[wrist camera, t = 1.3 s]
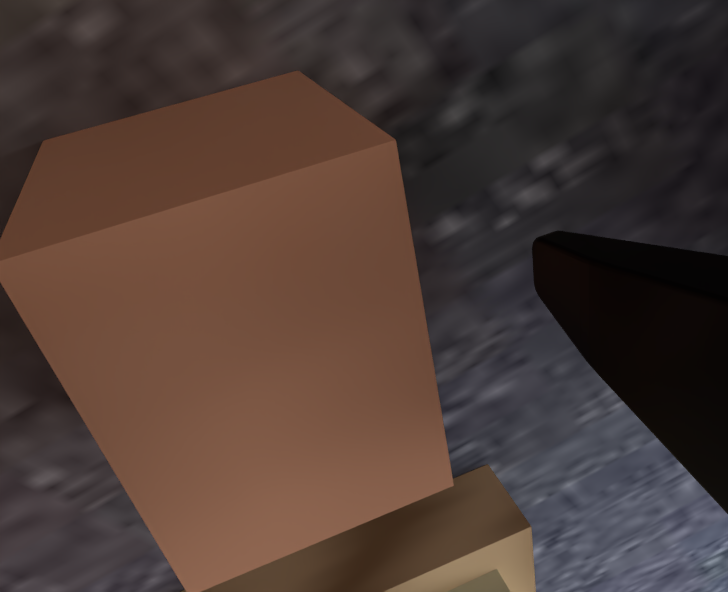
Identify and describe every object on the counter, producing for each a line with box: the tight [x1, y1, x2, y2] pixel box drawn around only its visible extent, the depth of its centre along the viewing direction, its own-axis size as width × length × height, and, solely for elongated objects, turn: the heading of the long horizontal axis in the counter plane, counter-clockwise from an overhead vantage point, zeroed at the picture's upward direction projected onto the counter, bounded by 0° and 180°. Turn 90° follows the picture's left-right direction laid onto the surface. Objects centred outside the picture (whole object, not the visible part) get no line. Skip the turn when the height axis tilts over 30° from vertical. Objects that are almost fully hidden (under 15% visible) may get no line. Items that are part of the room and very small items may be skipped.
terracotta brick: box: [0, 71, 454, 592], centre depth 10 cm, size 4×6×5 cm
